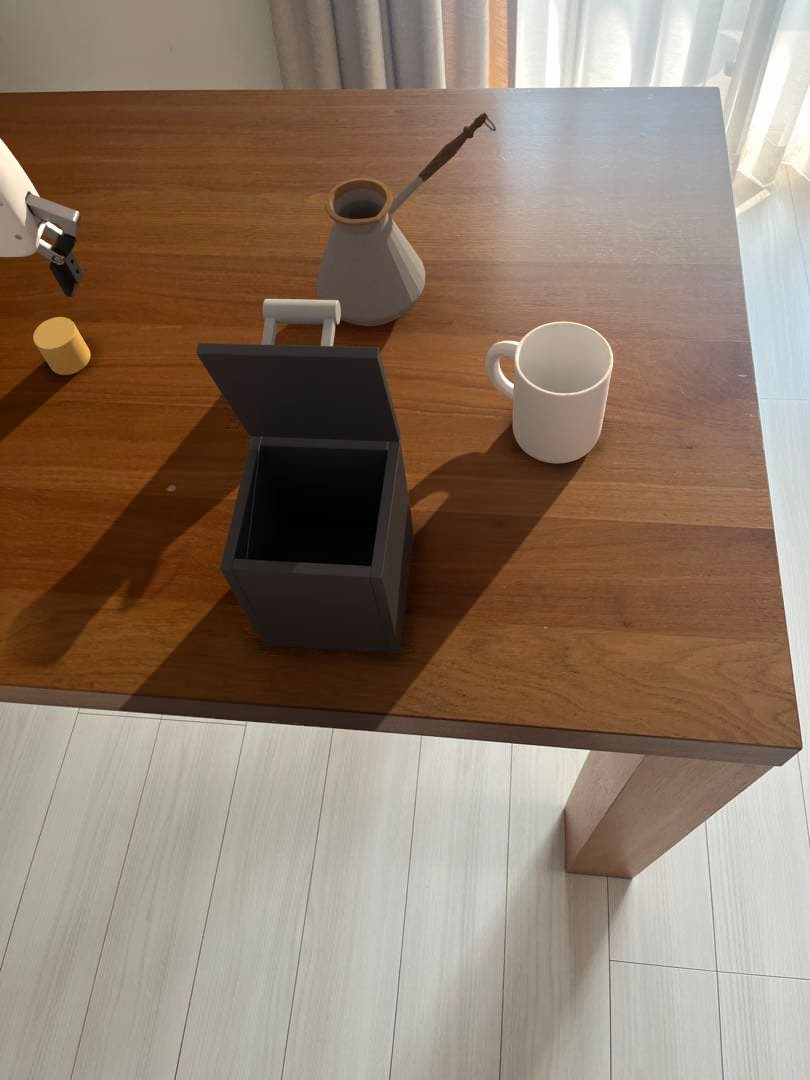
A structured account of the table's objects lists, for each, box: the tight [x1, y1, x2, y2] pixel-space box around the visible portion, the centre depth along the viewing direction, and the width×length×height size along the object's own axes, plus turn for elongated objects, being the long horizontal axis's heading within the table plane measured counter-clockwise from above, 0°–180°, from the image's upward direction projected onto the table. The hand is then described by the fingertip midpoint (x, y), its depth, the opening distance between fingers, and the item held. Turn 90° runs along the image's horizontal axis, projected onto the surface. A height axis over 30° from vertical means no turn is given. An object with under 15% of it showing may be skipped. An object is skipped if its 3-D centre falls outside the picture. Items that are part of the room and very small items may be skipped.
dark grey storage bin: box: [219, 436, 415, 655], centre depth 71 cm, size 12×12×14 cm
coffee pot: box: [315, 112, 497, 327], centre depth 89 cm, size 21×12×15 cm, turn 124°
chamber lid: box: [195, 298, 401, 442], centre depth 63 cm, size 13×12×5 cm
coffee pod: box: [32, 316, 91, 376], centre depth 92 cm, size 4×4×4 cm
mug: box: [484, 321, 614, 464], centre depth 80 cm, size 12×8×10 cm
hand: (27, 285), depth 85 cm, fingers open, 9 cm apart
